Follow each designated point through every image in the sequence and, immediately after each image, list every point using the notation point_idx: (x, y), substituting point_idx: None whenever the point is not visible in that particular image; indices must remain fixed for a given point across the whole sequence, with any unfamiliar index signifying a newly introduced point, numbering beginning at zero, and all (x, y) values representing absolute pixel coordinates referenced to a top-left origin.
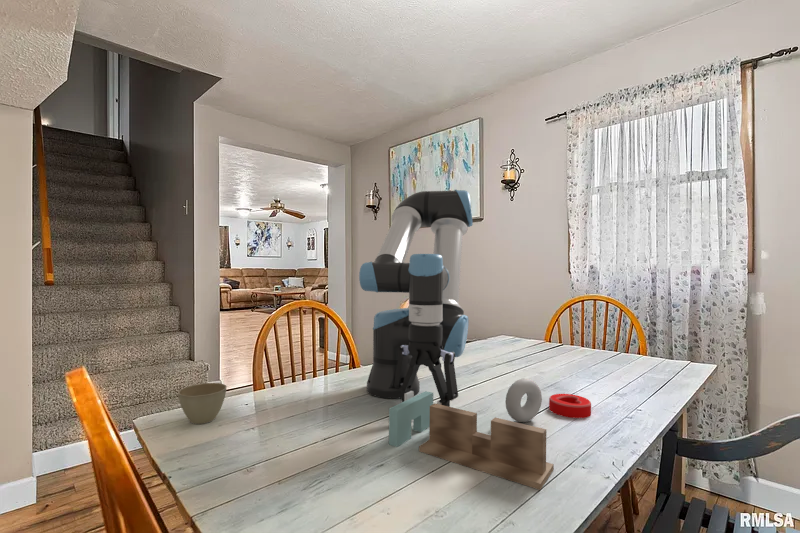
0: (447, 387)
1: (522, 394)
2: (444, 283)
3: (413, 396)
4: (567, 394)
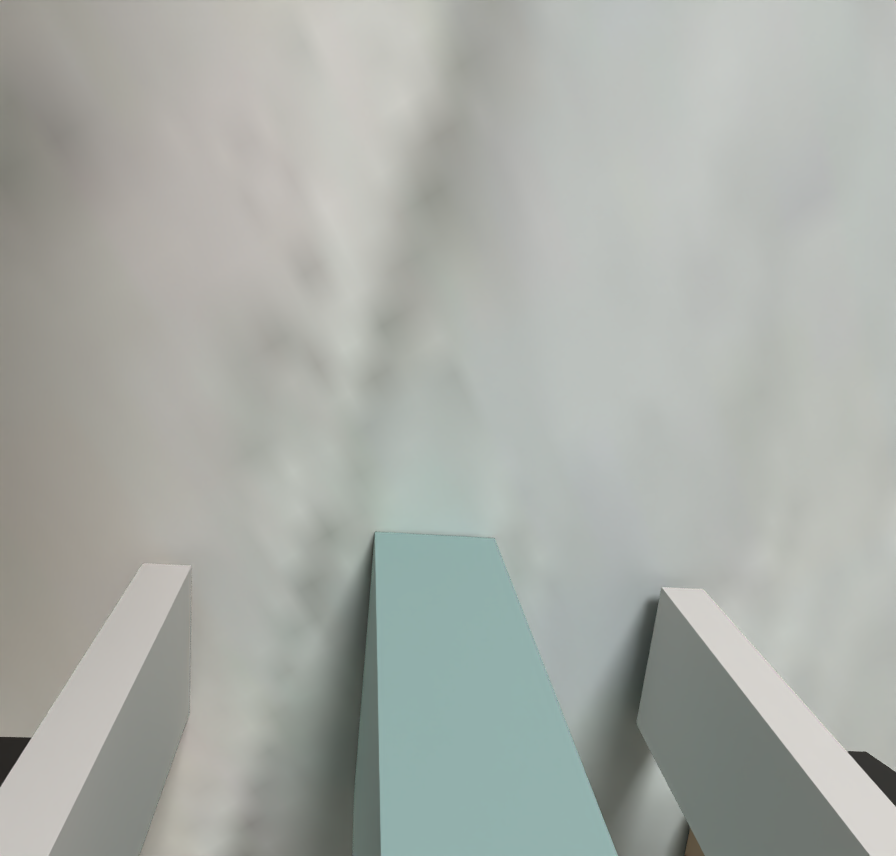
0: None
1: None
2: None
3: (70, 822)
4: None
